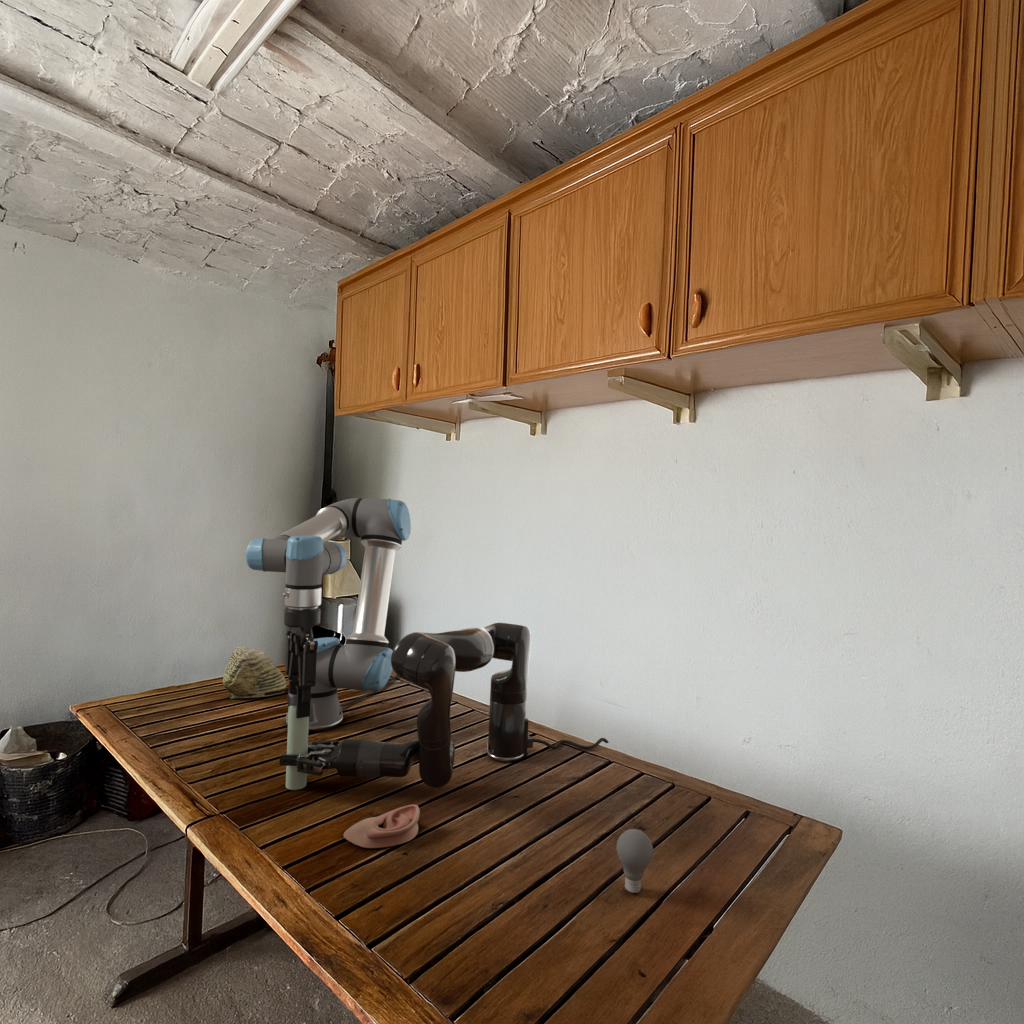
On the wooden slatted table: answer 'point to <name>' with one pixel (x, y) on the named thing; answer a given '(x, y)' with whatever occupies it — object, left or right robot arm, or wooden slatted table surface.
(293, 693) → the lid
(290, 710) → the pale green tube
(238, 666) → the fossil
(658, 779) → the wooden slatted table surface
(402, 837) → the anatomical model
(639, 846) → the light bulb
